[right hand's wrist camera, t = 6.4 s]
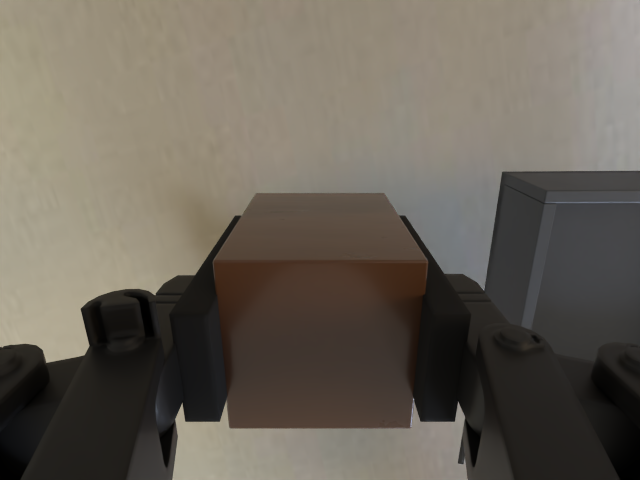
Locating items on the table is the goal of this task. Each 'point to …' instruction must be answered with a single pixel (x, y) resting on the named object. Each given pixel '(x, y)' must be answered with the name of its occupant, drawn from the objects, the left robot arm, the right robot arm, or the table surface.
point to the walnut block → (320, 312)
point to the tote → (568, 257)
